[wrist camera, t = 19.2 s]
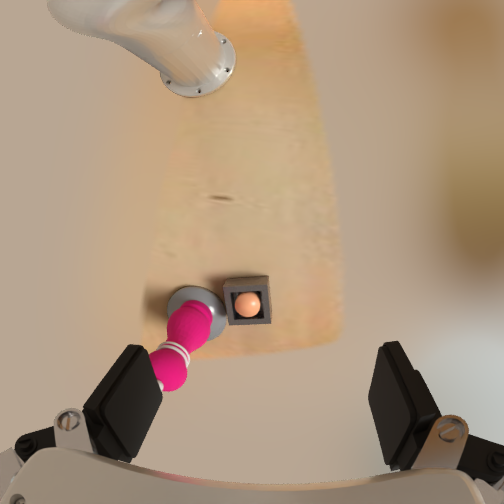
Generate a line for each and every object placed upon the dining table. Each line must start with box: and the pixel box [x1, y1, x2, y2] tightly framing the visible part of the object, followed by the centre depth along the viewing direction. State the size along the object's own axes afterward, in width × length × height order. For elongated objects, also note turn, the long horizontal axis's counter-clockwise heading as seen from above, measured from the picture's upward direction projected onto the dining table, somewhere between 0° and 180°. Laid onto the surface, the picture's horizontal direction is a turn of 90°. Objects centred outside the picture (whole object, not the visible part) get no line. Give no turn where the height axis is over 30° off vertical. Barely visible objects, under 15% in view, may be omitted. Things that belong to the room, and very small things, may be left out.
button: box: [235, 291, 261, 317], centre depth 46 cm, size 4×4×2 cm
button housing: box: [223, 276, 272, 325], centre depth 47 cm, size 7×7×4 cm
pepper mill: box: [149, 300, 213, 391], centre depth 40 cm, size 7×7×20 cm
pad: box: [167, 286, 227, 341], centre depth 50 cm, size 11×11×1 cm
